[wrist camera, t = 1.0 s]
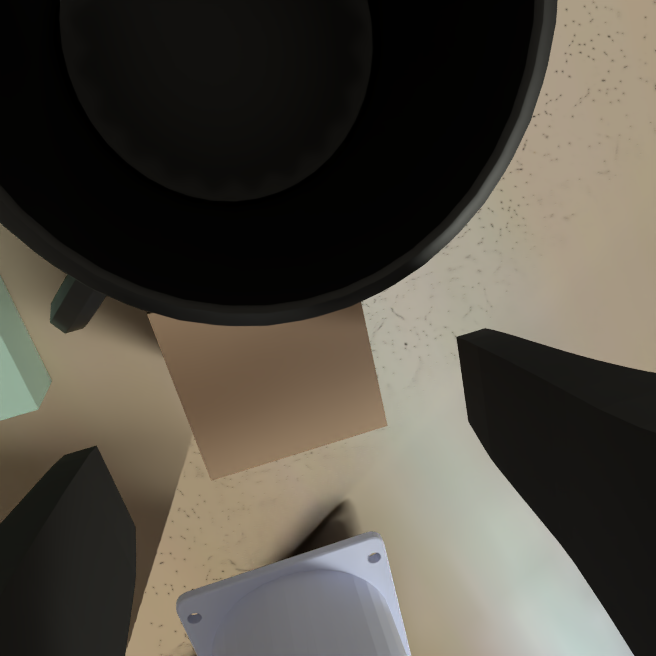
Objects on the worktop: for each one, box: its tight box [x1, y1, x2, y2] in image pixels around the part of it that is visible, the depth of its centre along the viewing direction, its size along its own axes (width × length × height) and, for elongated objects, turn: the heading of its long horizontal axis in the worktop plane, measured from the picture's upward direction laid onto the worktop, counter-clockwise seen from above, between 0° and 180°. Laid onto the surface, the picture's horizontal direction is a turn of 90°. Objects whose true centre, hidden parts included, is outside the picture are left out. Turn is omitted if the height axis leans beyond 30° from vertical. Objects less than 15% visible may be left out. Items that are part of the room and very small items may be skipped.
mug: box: [0, 0, 557, 333], centre depth 13 cm, size 9×12×9 cm
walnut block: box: [147, 302, 387, 481], centre depth 17 cm, size 5×5×6 cm
